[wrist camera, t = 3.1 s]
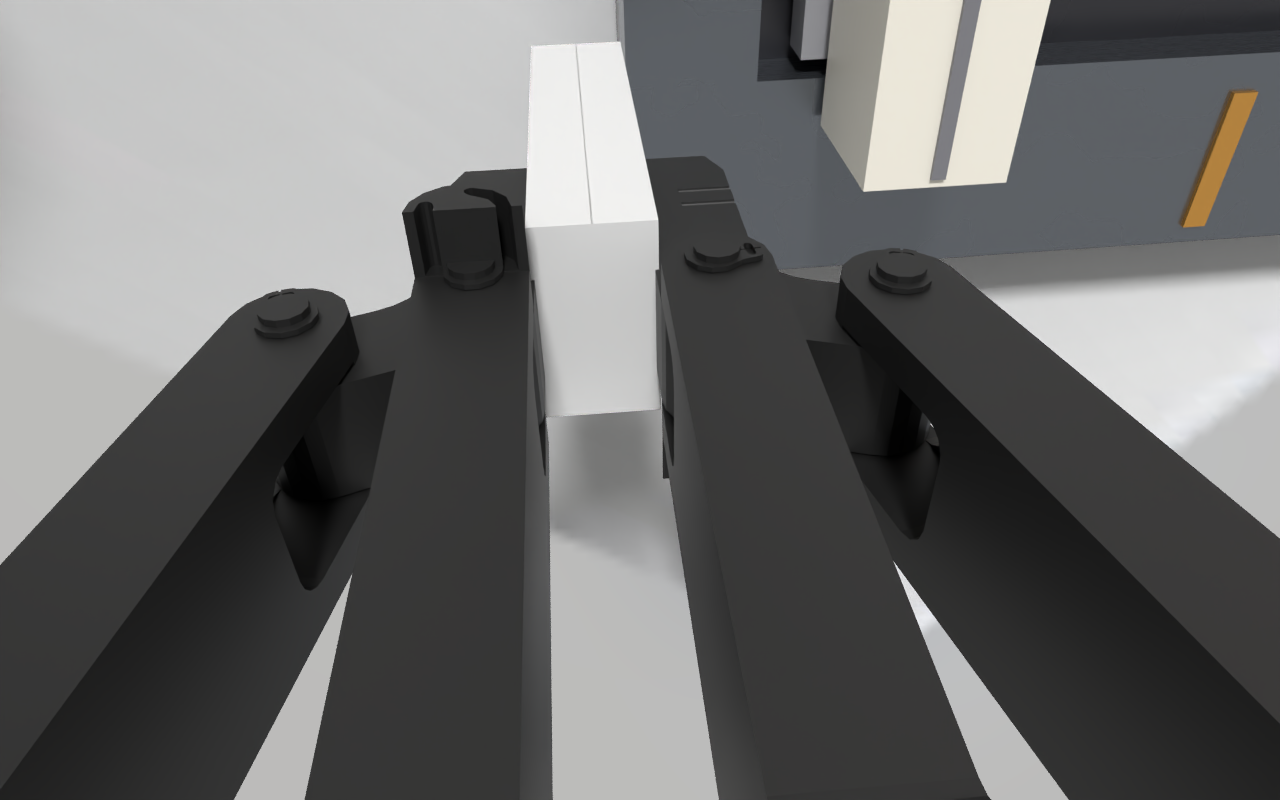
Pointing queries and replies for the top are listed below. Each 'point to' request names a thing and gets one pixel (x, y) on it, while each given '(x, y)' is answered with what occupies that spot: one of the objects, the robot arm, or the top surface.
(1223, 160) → the console
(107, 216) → the top surface
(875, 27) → the fader
